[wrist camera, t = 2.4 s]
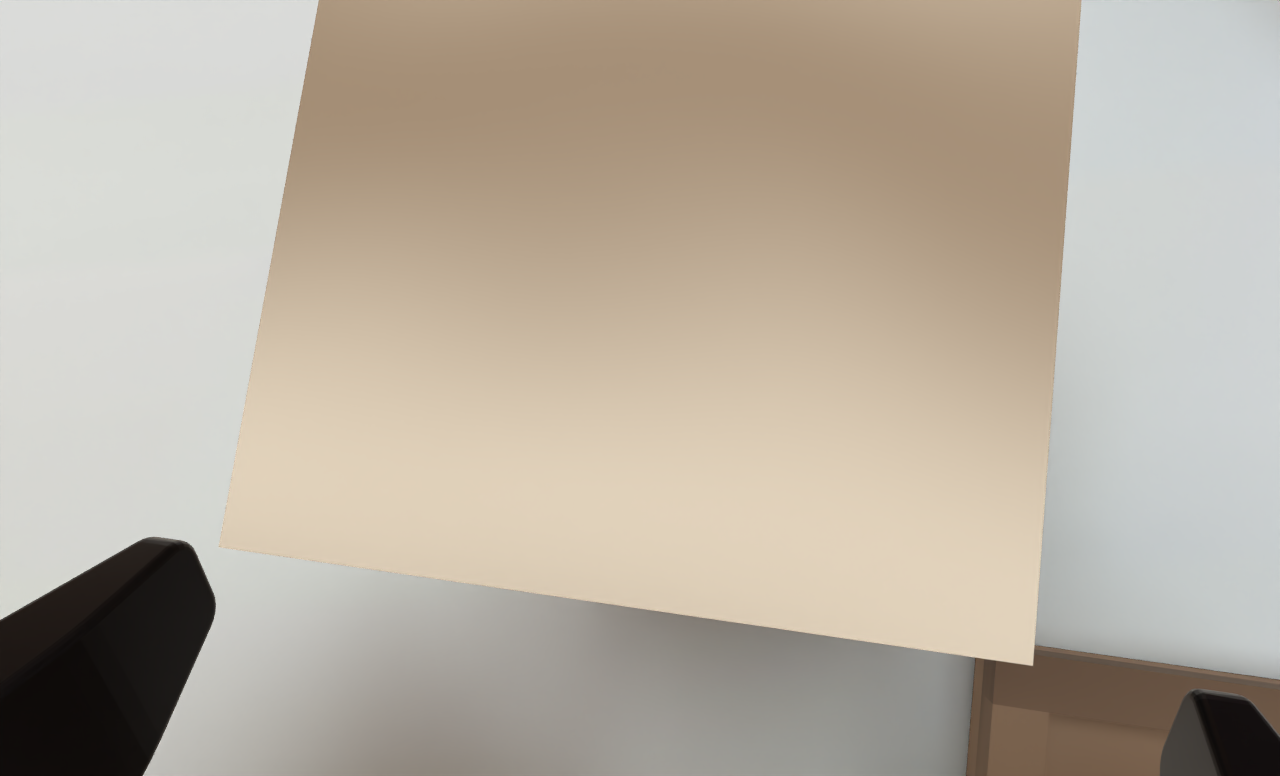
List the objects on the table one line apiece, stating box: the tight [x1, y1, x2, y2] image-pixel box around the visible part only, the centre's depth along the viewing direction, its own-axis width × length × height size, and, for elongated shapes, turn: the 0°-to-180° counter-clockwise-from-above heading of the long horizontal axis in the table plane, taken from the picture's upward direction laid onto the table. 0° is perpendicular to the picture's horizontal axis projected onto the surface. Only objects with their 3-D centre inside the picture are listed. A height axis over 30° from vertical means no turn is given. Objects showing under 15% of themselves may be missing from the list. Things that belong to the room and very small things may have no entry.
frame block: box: [219, 0, 1081, 666], centre depth 13 cm, size 5×6×12 cm
